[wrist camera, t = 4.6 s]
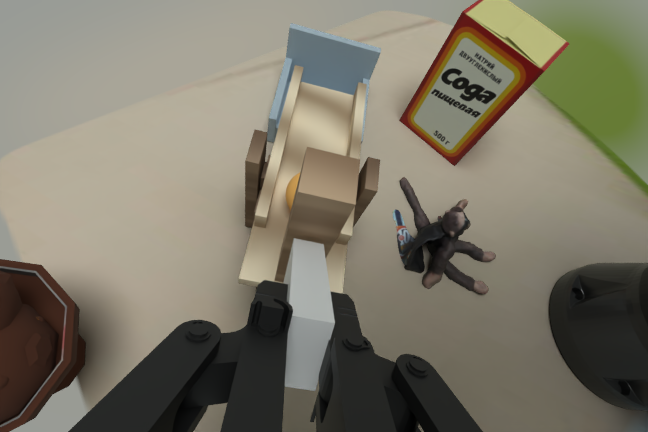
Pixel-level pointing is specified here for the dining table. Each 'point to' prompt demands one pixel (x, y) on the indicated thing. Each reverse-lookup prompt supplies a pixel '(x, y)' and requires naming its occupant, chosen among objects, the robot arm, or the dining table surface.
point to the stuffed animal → (437, 243)
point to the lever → (309, 182)
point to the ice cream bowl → (34, 341)
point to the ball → (291, 190)
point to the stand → (258, 169)
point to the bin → (323, 67)
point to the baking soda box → (479, 75)
